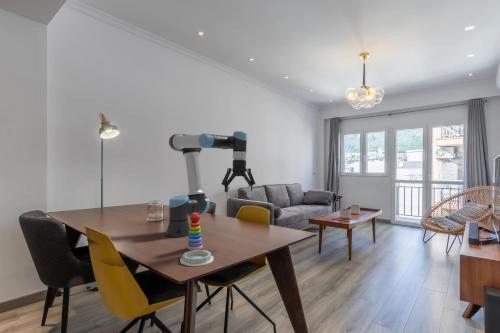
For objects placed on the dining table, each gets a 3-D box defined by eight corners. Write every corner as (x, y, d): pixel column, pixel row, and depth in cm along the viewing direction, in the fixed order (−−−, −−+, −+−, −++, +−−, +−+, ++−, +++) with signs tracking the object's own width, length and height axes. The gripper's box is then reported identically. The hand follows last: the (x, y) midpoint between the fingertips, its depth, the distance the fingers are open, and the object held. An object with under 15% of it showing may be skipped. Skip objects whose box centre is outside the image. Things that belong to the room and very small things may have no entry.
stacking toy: (188, 246, 141) (188, 211, 140) (203, 246, 141) (204, 211, 141) (186, 251, 133) (186, 213, 133) (202, 250, 133) (202, 213, 133)
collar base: (172, 261, 118) (172, 256, 118) (195, 252, 131) (195, 247, 131) (198, 268, 110) (198, 262, 110) (220, 258, 123) (220, 252, 123)
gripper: (221, 158, 137) (220, 199, 137) (262, 160, 150) (260, 197, 150) (216, 158, 144) (215, 197, 144) (255, 160, 156) (254, 195, 157)
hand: (238, 197), depth 147 cm, fingers open, 13 cm apart
